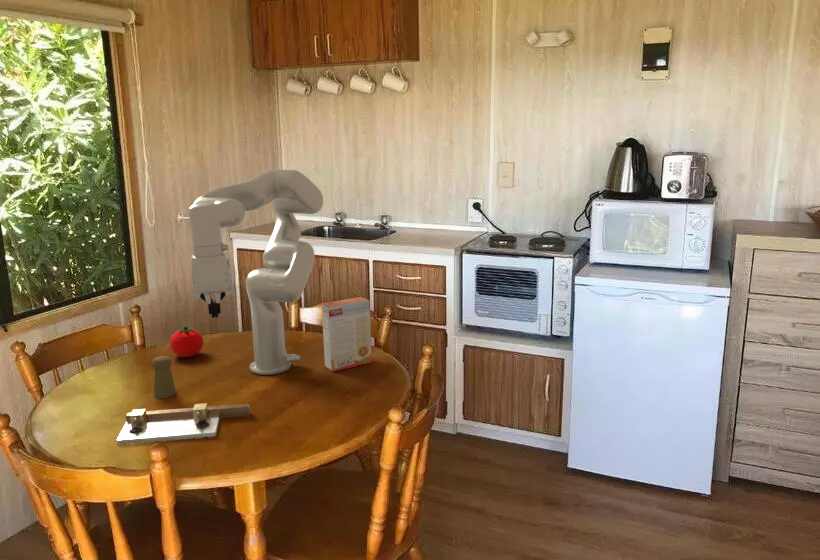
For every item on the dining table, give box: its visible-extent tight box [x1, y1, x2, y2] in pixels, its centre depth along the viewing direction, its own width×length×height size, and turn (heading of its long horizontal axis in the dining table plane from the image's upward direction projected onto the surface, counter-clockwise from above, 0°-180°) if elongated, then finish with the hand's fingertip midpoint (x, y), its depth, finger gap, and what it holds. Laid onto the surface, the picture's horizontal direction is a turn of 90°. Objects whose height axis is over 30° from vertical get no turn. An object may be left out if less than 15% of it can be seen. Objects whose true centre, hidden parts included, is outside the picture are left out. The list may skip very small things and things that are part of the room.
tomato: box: [169, 324, 204, 358], centre depth 223 cm, size 10×10×10 cm
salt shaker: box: [151, 355, 177, 399], centre depth 193 cm, size 6×6×11 cm
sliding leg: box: [192, 402, 208, 423], centre depth 173 cm, size 3×6×3 cm, turn 10°
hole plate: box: [116, 403, 251, 446], centre depth 173 cm, size 30×14×4 cm, turn 100°
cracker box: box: [321, 296, 372, 373], centre depth 212 cm, size 14×6×21 cm, turn 121°
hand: (215, 316), depth 185 cm, fingers closed
